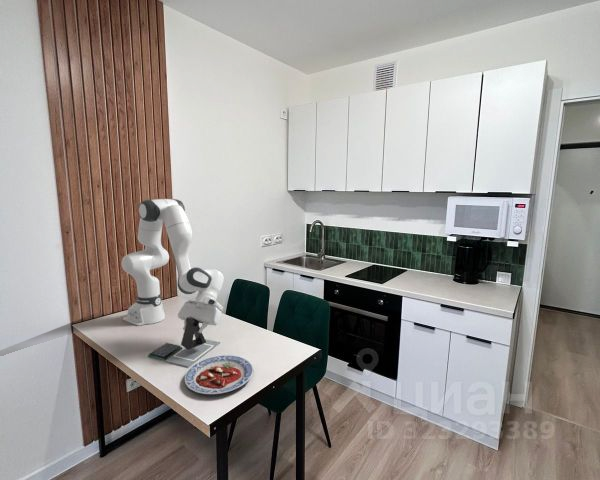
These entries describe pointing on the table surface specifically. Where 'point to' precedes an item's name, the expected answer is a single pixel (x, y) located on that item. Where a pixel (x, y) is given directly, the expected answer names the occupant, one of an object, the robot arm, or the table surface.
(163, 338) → the table surface
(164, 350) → the ink pad
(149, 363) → the table surface
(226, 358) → the ceramic plate
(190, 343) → the phone stand
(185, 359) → the marked board
